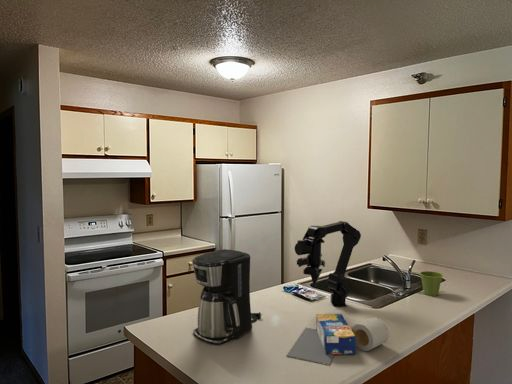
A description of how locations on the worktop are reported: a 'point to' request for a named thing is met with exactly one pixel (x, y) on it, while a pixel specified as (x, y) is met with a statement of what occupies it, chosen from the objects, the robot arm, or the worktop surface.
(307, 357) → the mat
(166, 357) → the worktop surface
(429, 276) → the plant pot
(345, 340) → the beverage box
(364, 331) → the toilet paper
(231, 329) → the coffee maker
